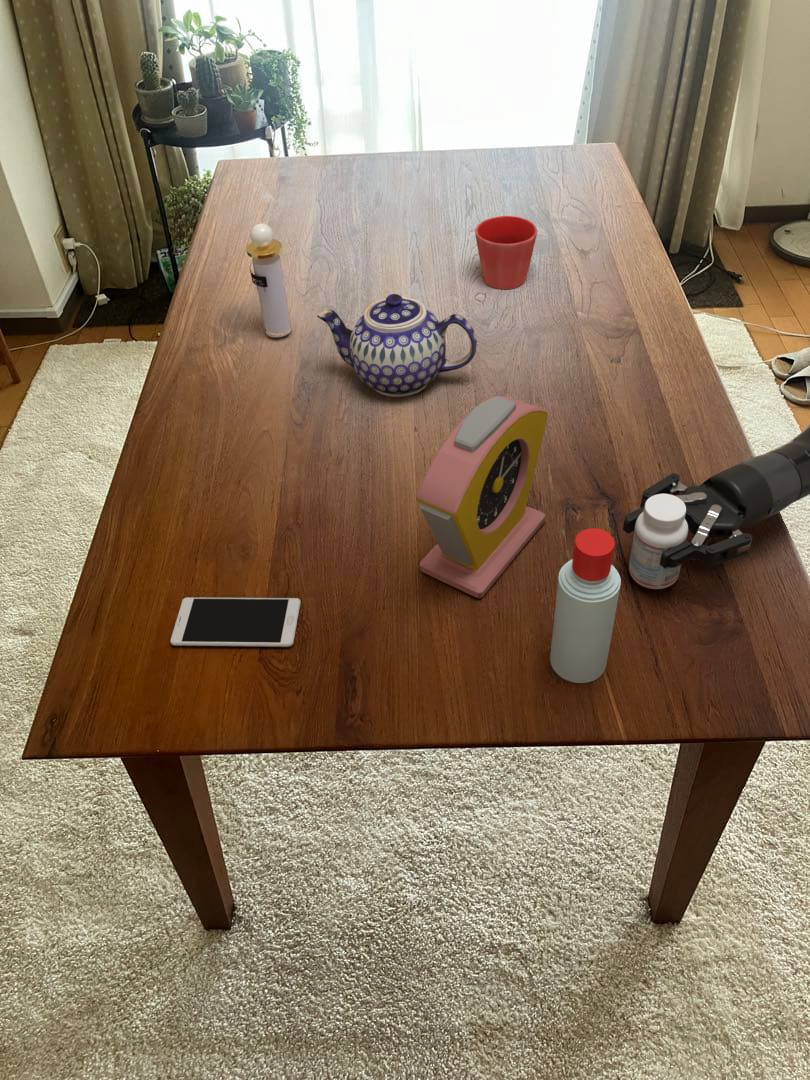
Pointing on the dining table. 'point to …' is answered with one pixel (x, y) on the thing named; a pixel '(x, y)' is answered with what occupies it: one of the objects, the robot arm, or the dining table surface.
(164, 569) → the dining table surface
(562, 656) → the water bottle
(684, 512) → the pill bottle
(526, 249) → the flower pot
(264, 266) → the perfume bottle
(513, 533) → the pink desk clock
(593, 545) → the cap
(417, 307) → the teapot
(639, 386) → the dining table surface
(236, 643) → the smartphone
